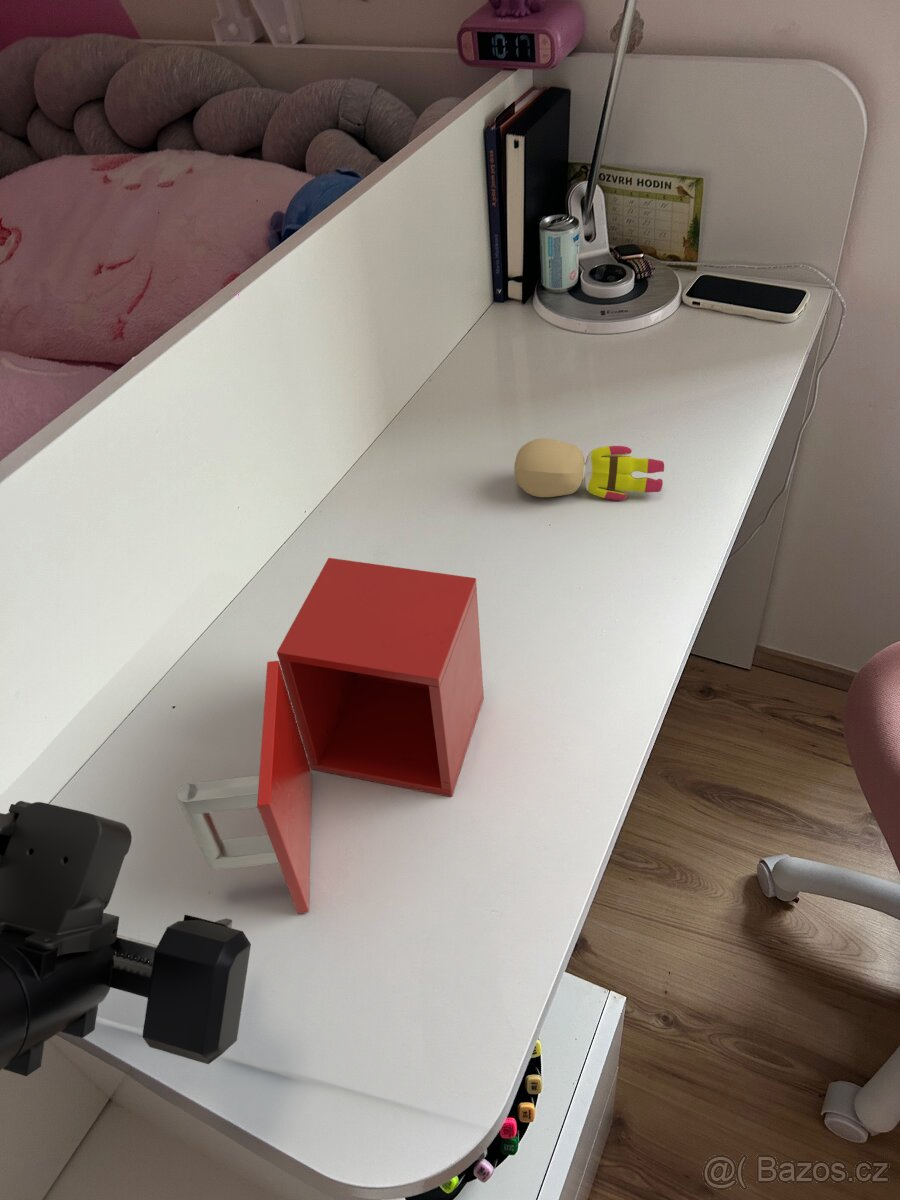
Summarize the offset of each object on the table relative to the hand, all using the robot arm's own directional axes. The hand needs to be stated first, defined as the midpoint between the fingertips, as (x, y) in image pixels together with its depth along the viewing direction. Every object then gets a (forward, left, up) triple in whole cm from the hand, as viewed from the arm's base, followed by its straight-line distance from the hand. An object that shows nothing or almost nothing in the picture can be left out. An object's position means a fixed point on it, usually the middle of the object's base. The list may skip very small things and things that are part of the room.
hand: (162, 910), depth 57 cm
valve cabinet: (+18, +14, -7) cm, 24 cm away
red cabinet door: (+6, +7, -7) cm, 12 cm away
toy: (+44, +38, -7) cm, 59 cm away
